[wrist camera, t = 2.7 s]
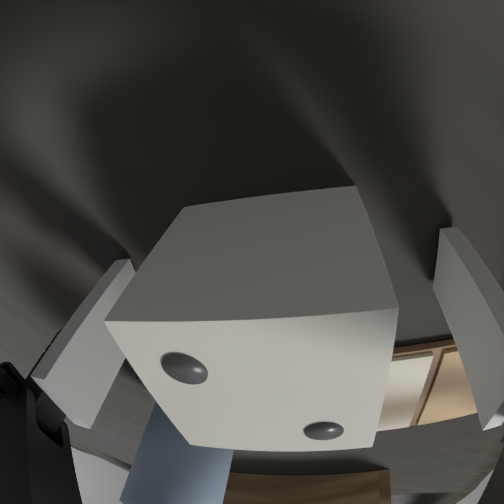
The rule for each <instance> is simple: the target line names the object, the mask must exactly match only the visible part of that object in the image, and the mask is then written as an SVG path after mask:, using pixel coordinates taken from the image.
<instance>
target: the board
mask: <svg viewBox="0 0 504 504" xmlns="http://www.w3.org/2000/svg"><path fill="white" fill-rule="evenodd" d="M473 413H477V408H476V405H475V401H474V398H473V395H472V391H471V388H470V385H469V382H468V379H467V376H466V373H465V370H464V367H463V364H462V361H461V358H460V355H459V352H458V350H457V347H456V344H455V342H454V339H449V340H443V341H437V342H430V343H424V344H417V345H410V346H402V347H394V348H393V354H392V360H391V366H390V371H389V377H388V382H387V387H386V392H385V396H384V401H383V406H382V410H381V414H380V419H379V423H378V427H377V431H382V430H390V429H398V428H404V427H409V426H412V425H422V424H428V423H433V422H438V421H443V420H448V419H452V418H457V417H461V416H465V415H469V414H473Z"/></svg>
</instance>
